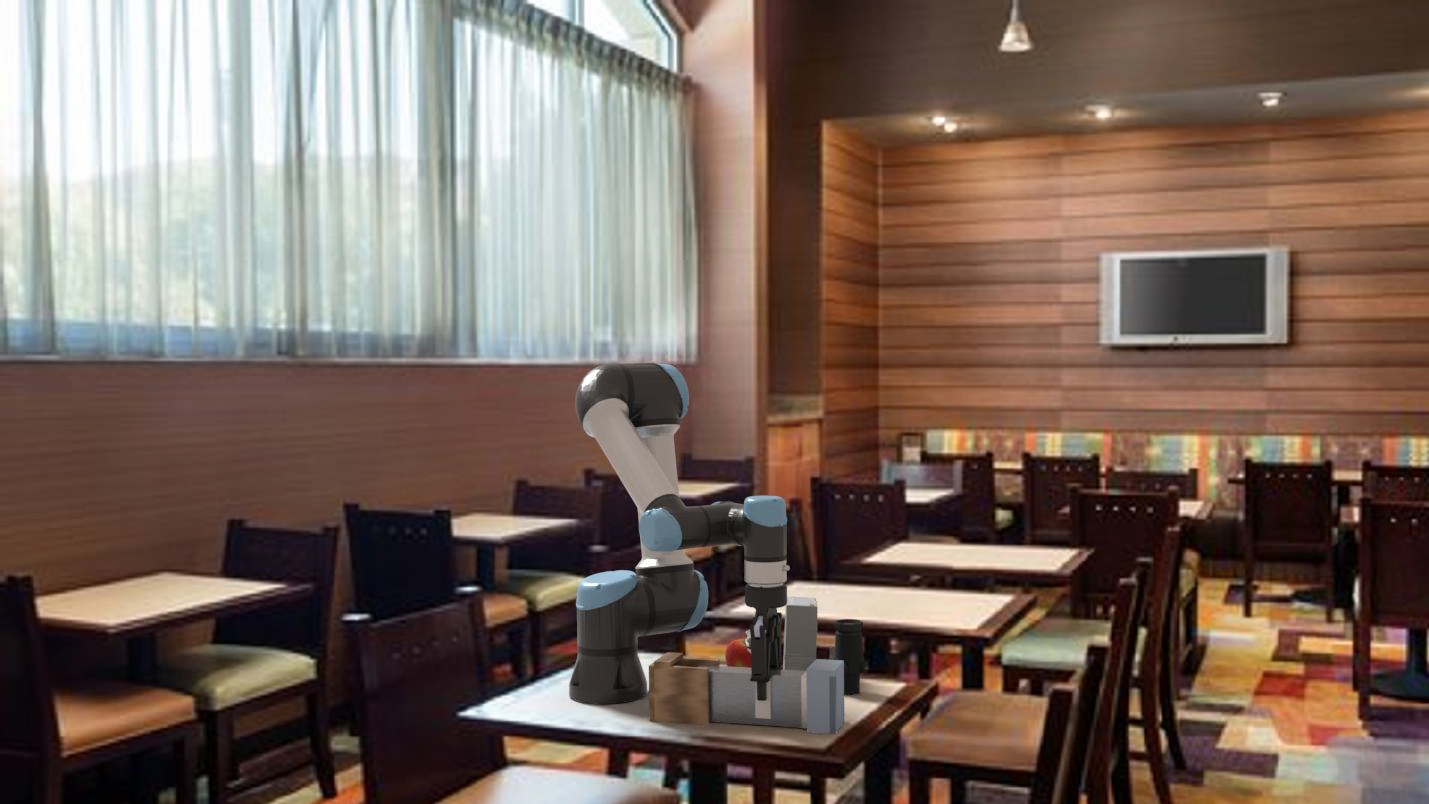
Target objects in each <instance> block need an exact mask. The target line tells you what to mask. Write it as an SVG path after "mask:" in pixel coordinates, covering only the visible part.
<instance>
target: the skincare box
mask: <svg viewBox="0 0 1429 804" xmlns="http://www.w3.org/2000/svg"><path fill="white" fill-rule="evenodd" d="M817 603H818V601H817V598H816V597H808V596H787V604H786V605H785V608H784V609H785V610H784V611H785V615H784V638H783V658H782V659H783V662H782V663H783V664H782V668H783V670H800V671H806V669H807V668H808V667H809V666H810V665H811V664H812V663H813V662H814V661H815V660H816V659H817V641H818V640H817V639H818V604H817Z"/></svg>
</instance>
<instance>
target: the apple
mask: <svg viewBox="0 0 1429 804" xmlns="http://www.w3.org/2000/svg"><path fill="white" fill-rule="evenodd" d="M745 635H746V636H745V638H739V639H735V640H731V642H730V643H728V644H727V647H726V649H725V654H724V655H725V656H724V657H725V663H726V666H730V667H747V668H751V654H750V653H749V651H748V650H747V648H746V646H745V645H746V644H745V641H746V638H747V634H745Z"/></svg>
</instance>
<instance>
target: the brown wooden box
mask: <svg viewBox="0 0 1429 804" xmlns="http://www.w3.org/2000/svg"><path fill="white" fill-rule="evenodd" d="M720 662H721V661H720V659H718V658H717V659H715V658H703V657H702V658H700V657H684V653H683V652H671V651H670V652H669V651H668V652H666V653H664V654H663V655H662V656H660V657H658V658H656V660H654V661H653V662H652V663H651V664H649V665H648V700H649V701H648V707H649V708H648V709H649V710H648V715H649V716H648V717H649V718H648V719H649V720H648V721H649V722H660V723H673V724H688V725H689V724H691V725H703V726H704V725H705V726H708V725H710V723H711V721H710V715H709V668H704V667H698V666H700V665H712V666H721V665H720V664H721V663H720Z"/></svg>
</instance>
